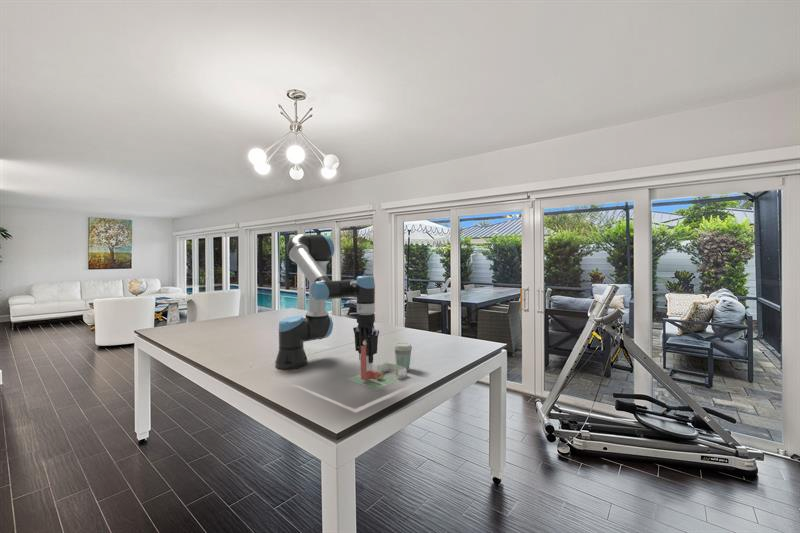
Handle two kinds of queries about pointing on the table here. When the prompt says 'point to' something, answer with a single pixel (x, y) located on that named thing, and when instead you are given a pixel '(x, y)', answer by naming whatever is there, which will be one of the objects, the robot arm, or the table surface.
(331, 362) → the table surface
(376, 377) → the red inhaler
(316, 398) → the table surface
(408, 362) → the coffee cup
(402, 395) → the table surface
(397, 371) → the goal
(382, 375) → the ball
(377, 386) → the pitch
